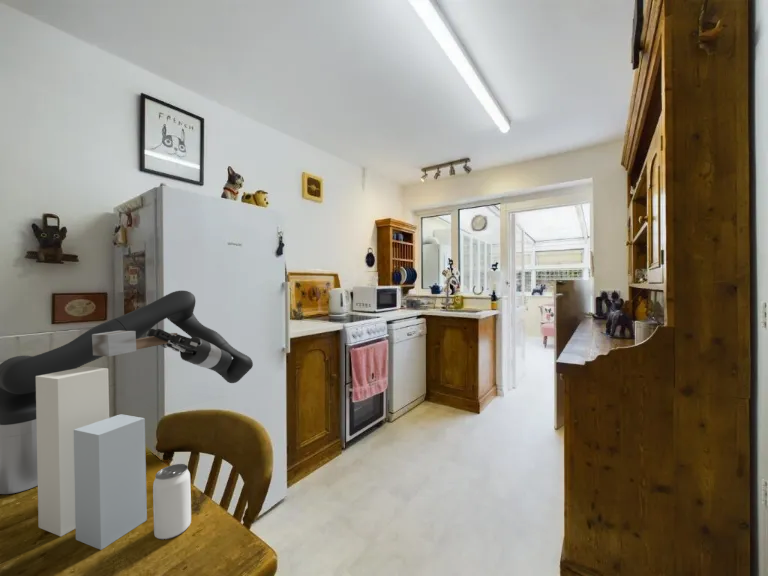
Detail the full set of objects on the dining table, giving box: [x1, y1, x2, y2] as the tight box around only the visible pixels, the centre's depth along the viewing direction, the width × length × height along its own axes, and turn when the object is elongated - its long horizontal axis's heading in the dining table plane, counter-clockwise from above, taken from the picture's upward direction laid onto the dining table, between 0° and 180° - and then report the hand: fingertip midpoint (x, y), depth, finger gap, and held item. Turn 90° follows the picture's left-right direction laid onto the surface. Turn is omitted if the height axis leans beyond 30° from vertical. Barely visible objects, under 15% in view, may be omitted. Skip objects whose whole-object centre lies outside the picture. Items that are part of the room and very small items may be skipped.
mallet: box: [92, 331, 178, 358], centre depth 85 cm, size 6×18×5 cm, turn 160°
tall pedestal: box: [36, 366, 110, 537], centre depth 72 cm, size 8×9×32 cm
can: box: [152, 463, 192, 540], centre depth 68 cm, size 6×6×12 cm
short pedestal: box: [74, 413, 148, 551], centre depth 68 cm, size 8×8×22 cm
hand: (152, 332), depth 88 cm, fingers closed on mallet
